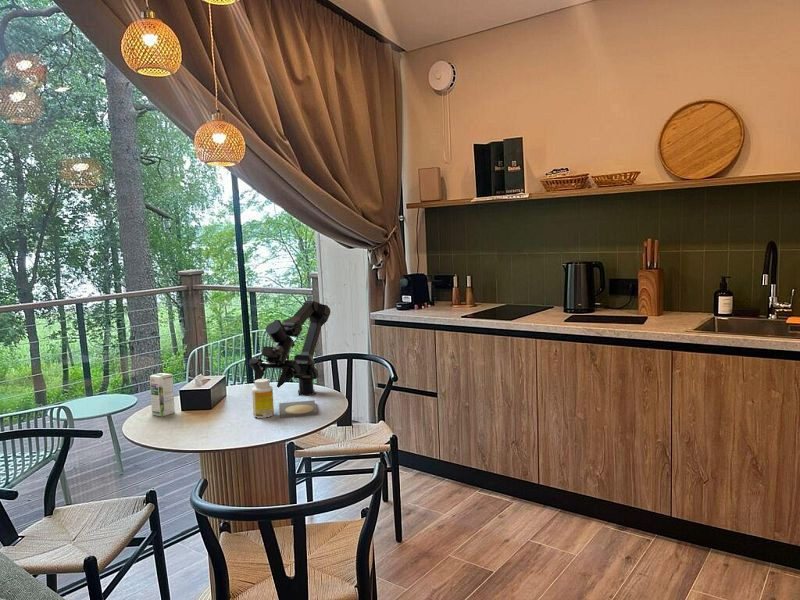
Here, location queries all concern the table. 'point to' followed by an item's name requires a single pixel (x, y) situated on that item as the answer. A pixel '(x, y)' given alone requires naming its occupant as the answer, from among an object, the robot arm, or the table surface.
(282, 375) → the robot arm
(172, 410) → the syrup box
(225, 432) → the table surface
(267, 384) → the supplement bottle
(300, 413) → the plate
